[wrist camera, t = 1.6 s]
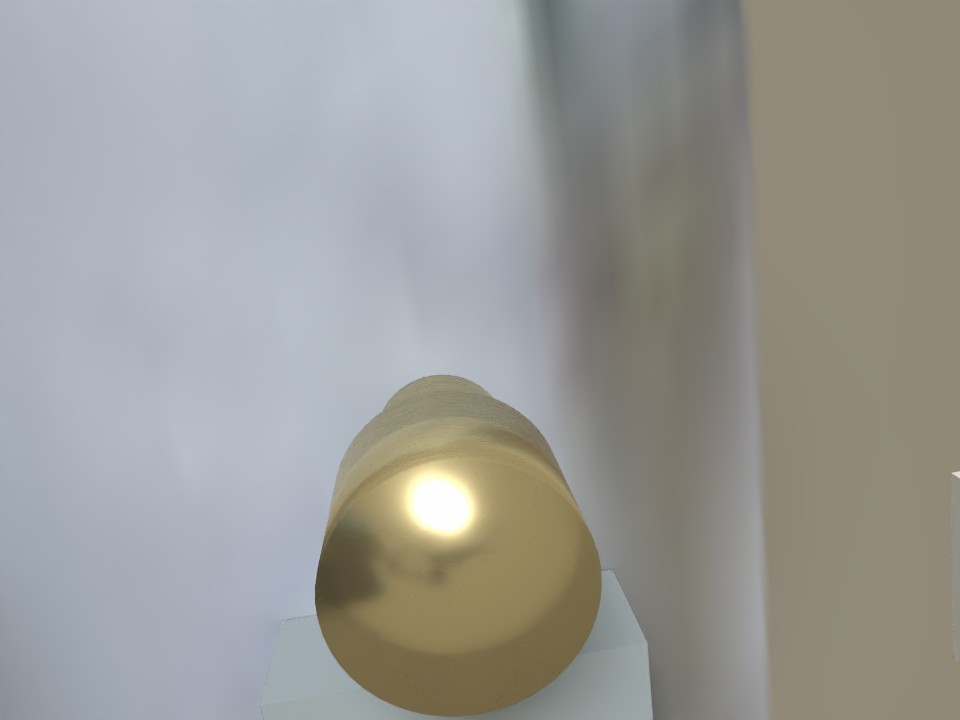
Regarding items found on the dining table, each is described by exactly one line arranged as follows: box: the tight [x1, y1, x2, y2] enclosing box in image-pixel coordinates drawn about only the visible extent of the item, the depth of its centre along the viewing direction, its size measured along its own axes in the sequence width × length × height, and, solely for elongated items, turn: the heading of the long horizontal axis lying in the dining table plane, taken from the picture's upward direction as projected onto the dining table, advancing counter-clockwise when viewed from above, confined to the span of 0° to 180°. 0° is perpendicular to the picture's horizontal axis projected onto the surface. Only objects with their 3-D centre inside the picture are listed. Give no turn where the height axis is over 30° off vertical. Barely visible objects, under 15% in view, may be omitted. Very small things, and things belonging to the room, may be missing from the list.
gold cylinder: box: [315, 375, 602, 717], centre depth 23 cm, size 6×6×10 cm
